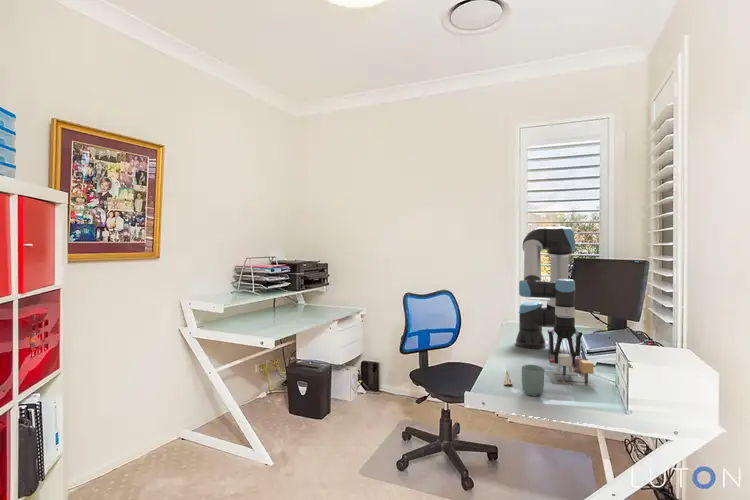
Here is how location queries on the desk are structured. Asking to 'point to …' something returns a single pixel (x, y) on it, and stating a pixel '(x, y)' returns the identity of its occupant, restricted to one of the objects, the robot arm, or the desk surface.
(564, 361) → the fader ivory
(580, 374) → the mixer console
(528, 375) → the cup
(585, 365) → the fader amber
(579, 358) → the video game controller
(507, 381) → the newspaper
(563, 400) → the desk surface
